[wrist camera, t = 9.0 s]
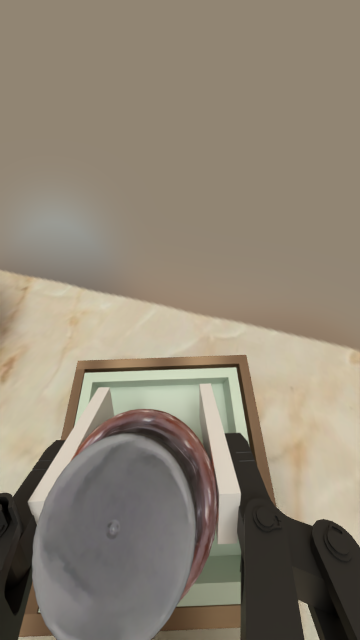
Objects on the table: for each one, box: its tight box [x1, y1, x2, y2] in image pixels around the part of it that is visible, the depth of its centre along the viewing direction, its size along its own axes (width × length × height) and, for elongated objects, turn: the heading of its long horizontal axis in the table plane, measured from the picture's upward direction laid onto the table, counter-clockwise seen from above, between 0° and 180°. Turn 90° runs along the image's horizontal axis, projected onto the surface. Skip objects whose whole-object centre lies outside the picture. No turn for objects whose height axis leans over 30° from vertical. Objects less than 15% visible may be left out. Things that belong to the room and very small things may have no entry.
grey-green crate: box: [38, 367, 249, 613], centre depth 16 cm, size 13×13×4 cm
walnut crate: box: [19, 355, 276, 637], centre depth 16 cm, size 16×16×3 cm
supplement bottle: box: [32, 409, 218, 640], centre depth 10 cm, size 6×6×11 cm
